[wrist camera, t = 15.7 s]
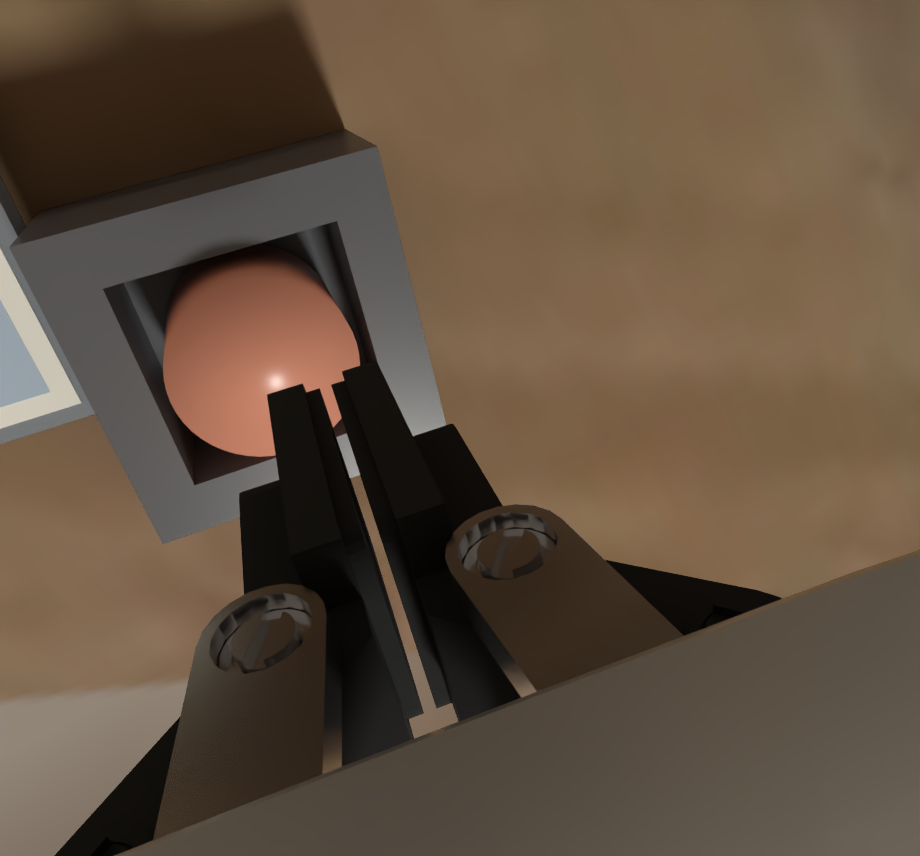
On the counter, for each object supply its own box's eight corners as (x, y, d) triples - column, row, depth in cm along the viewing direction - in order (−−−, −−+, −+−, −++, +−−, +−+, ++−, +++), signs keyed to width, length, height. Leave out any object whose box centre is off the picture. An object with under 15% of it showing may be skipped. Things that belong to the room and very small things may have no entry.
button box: (345, 129, 18) (376, 146, 15) (414, 388, 22) (450, 442, 19) (39, 211, 17) (8, 247, 14) (165, 472, 21) (163, 544, 18)
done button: (308, 222, 18) (329, 253, 15) (354, 372, 20) (380, 421, 17) (137, 272, 17) (129, 312, 15) (203, 422, 19) (206, 481, 17)
